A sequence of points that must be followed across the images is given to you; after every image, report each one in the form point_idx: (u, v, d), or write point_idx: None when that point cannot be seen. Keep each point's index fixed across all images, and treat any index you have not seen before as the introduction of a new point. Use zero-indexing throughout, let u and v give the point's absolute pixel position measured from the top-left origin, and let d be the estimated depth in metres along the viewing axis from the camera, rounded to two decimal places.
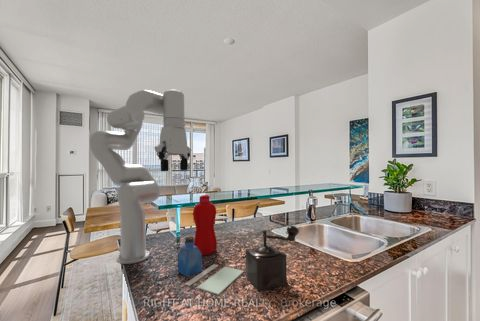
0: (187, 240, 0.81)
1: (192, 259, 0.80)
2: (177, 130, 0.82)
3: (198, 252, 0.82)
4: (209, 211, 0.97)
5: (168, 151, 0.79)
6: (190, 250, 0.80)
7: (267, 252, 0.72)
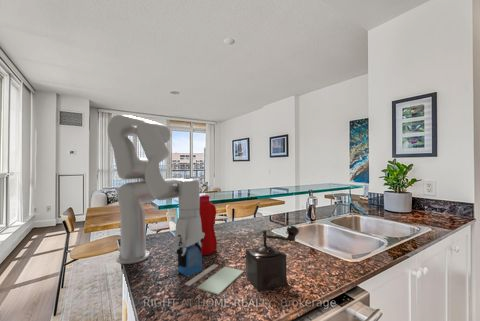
0: None
1: (192, 259, 0.80)
2: (193, 221, 0.81)
3: (198, 252, 0.82)
4: (209, 211, 0.97)
5: (184, 246, 0.78)
6: (190, 250, 0.80)
7: (267, 252, 0.72)
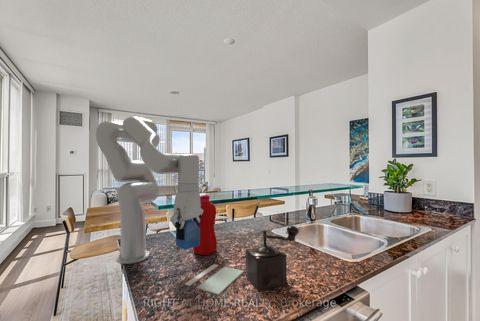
0: None
1: (190, 233, 0.80)
2: (192, 195, 0.81)
3: (196, 227, 0.82)
4: (209, 211, 0.97)
5: (182, 219, 0.78)
6: (188, 224, 0.81)
7: (267, 252, 0.72)
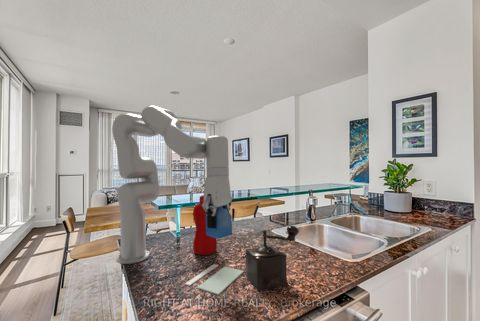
0: None
1: (222, 220, 0.74)
2: (222, 180, 0.75)
3: (228, 214, 0.76)
4: None
5: (214, 205, 0.72)
6: (220, 211, 0.74)
7: (267, 252, 0.72)
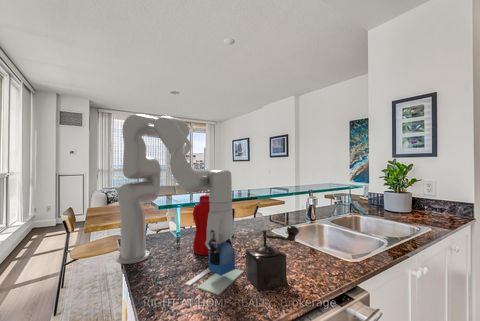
0: None
1: (225, 256, 0.73)
2: (226, 215, 0.74)
3: (231, 249, 0.75)
4: (209, 211, 0.97)
5: (217, 242, 0.71)
6: (223, 247, 0.74)
7: (267, 252, 0.72)
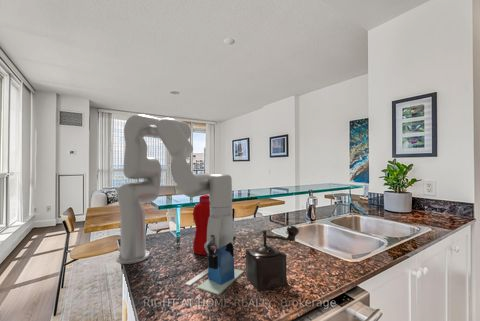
0: None
1: (225, 265, 0.73)
2: (226, 219, 0.74)
3: (231, 258, 0.75)
4: (209, 211, 0.97)
5: (218, 247, 0.71)
6: (223, 256, 0.74)
7: (267, 252, 0.72)
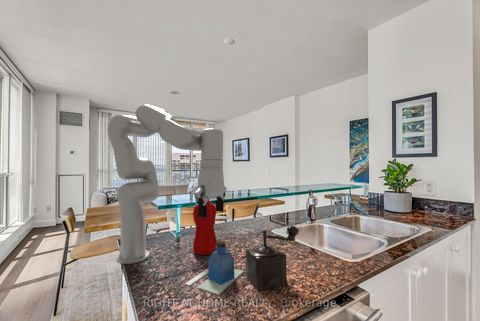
0: (219, 245, 0.75)
1: (225, 265, 0.73)
2: (216, 172, 0.77)
3: (231, 258, 0.75)
4: (209, 211, 0.97)
5: (207, 196, 0.73)
6: (223, 256, 0.74)
7: (267, 252, 0.72)
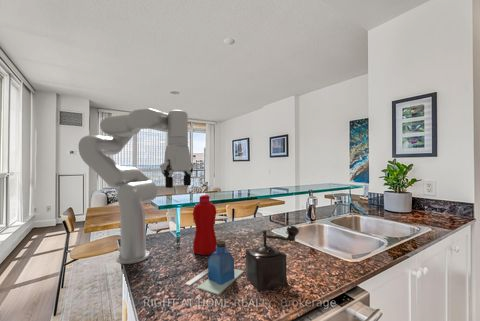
0: (219, 245, 0.75)
1: (225, 265, 0.73)
2: (181, 148, 0.86)
3: (231, 258, 0.75)
4: (209, 211, 0.97)
5: (172, 169, 0.83)
6: (223, 256, 0.74)
7: (267, 252, 0.72)
